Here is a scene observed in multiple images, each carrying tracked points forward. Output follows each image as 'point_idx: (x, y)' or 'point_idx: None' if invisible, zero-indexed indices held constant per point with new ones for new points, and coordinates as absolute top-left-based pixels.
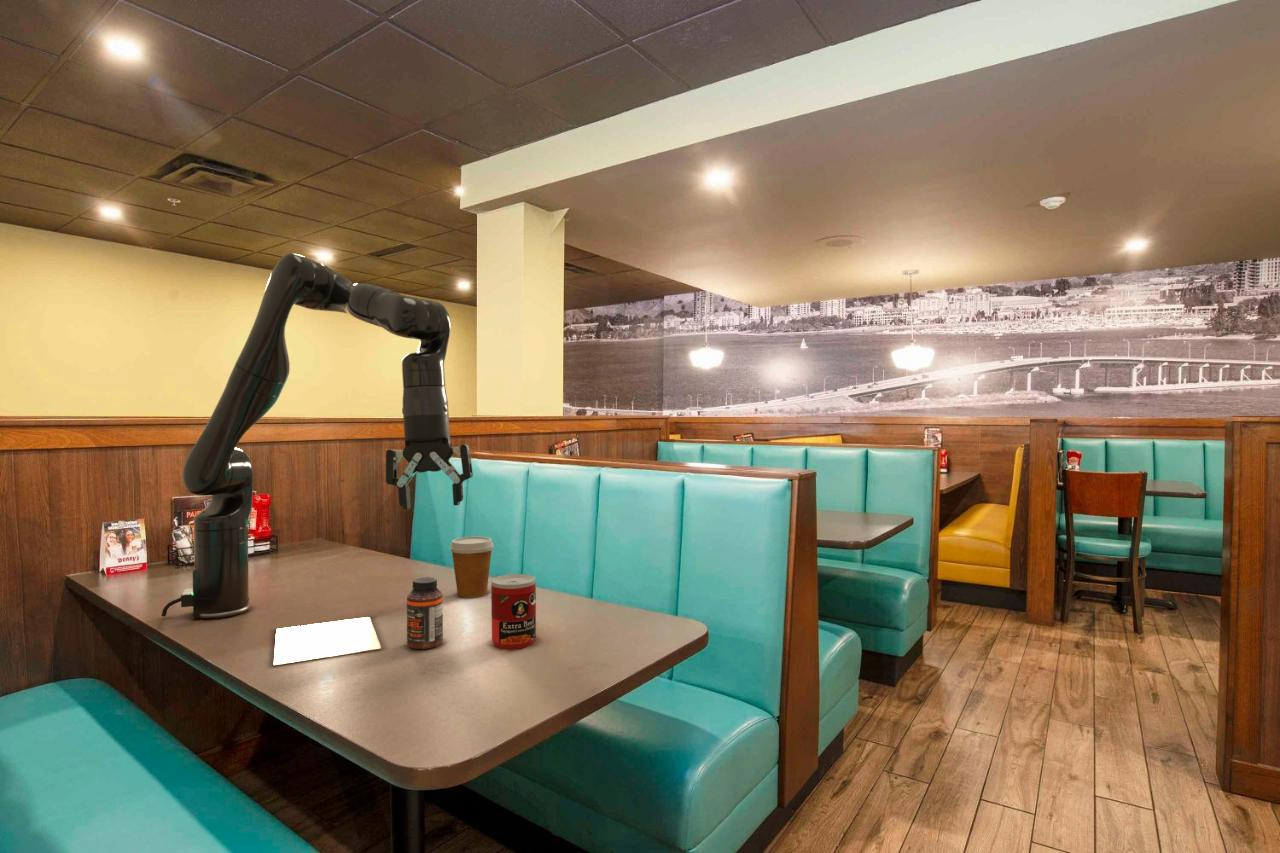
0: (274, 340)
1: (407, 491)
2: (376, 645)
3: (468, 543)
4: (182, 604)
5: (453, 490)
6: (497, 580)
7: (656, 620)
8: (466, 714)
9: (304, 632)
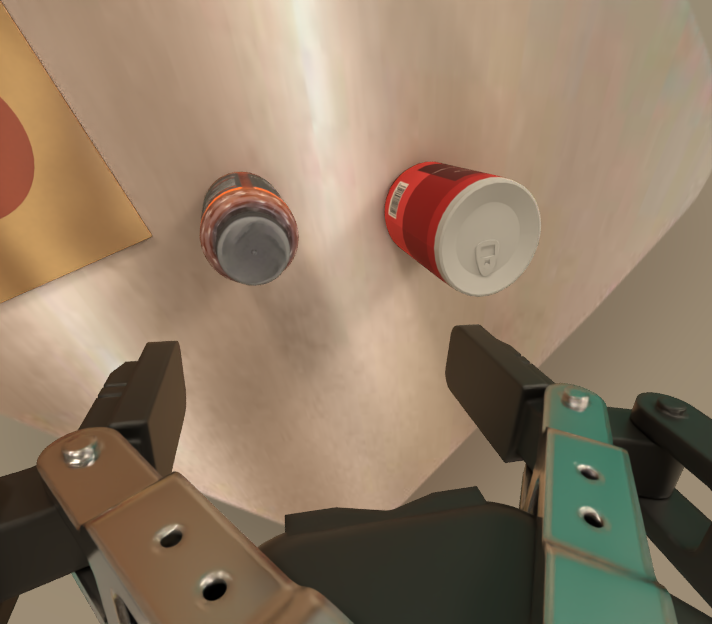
0: None
1: (164, 454)
2: (130, 217)
3: None
4: None
5: (488, 434)
6: (452, 236)
7: (684, 99)
8: (370, 456)
9: None
